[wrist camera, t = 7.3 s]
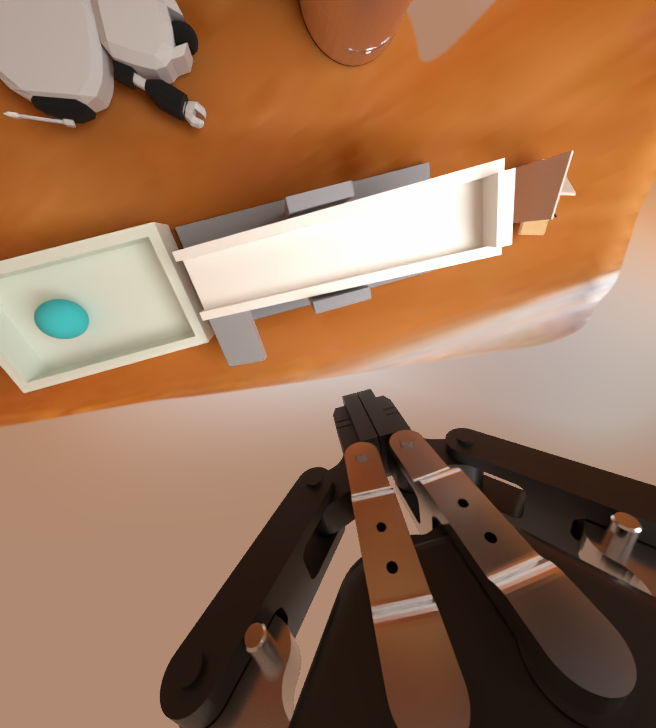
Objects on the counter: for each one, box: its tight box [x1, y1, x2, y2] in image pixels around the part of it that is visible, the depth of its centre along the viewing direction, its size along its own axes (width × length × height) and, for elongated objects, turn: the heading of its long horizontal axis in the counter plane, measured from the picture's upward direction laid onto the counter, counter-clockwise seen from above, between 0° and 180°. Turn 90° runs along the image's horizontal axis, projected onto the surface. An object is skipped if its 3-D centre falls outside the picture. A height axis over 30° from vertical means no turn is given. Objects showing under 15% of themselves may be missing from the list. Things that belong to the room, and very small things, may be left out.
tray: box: [0, 222, 215, 393], centre depth 28 cm, size 12×20×4 cm, turn 103°
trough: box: [172, 158, 516, 367], centre depth 24 cm, size 12×26×6 cm, turn 103°
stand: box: [175, 162, 436, 320], centre depth 26 cm, size 11×27×10 cm, turn 103°
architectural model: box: [513, 151, 576, 235], centre depth 30 cm, size 3×7×7 cm, turn 179°
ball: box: [34, 299, 89, 339], centre depth 28 cm, size 4×4×4 cm
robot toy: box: [0, 0, 206, 129], centre depth 21 cm, size 12×4×15 cm
